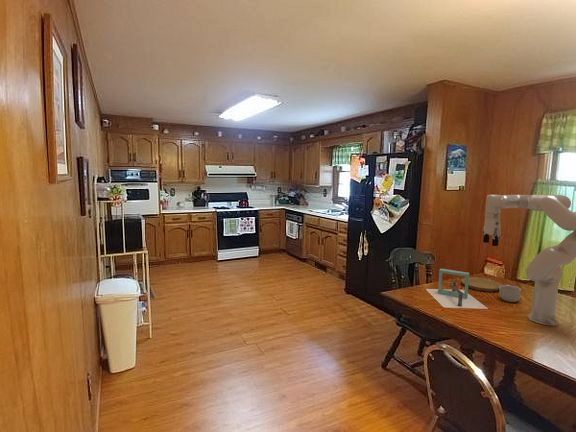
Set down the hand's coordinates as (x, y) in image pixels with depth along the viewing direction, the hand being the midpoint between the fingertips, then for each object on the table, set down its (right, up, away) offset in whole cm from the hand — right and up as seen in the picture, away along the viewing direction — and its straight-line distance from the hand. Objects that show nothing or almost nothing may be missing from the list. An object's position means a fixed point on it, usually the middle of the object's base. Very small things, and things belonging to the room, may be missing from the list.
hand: (490, 244), depth 195 cm
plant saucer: (+11, -32, +27) cm, 43 cm away
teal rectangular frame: (-19, -32, +7) cm, 38 cm away
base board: (-20, -34, +3) cm, 40 cm away
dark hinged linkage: (-19, -33, +2) cm, 38 cm away
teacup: (+14, -34, +4) cm, 37 cm away
